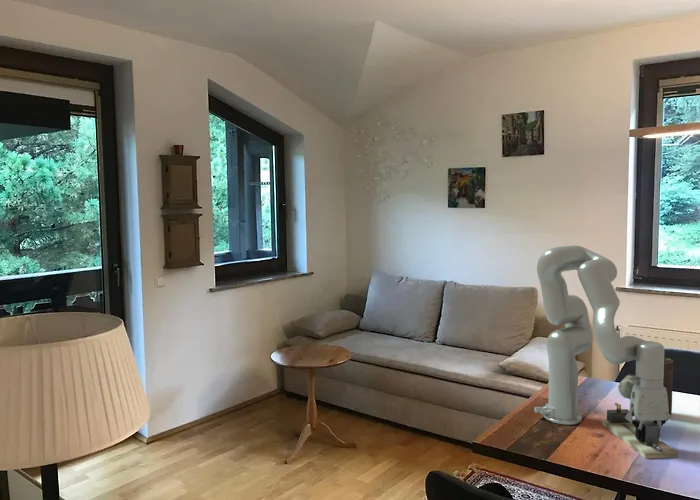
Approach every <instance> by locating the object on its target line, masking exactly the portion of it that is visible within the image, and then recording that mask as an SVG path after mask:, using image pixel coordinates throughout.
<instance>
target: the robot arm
mask: <svg viewBox="0 0 700 500" xmlns="http://www.w3.org/2000/svg"><path fill="white" fill-rule="evenodd" d="M575 270H576V271H577V277H578V279H579V282H580V284H581V286H582V289H583V291H584V294H585V295H586V297H587V300H588V302H589V304H590V306H591V309H592V312H593V315H592V328H591V323H590V315H589V312H588V308H587V305H586V303H585V302H584V300H583V299H582V298H581V297H579V296H578V295H574V294H572V295H571V294H569V291H568V285H567V282H566V279H565V278H564V276H563V275H562V273H563V272H569V271H575ZM536 272H537V277H538V282H539V285H540V289H541V295H542V302H543V307H544V314H545V317H546V320H547V321H548V323H550V324H552V325H554V326H562V325H564V327H563V328H559V329H556V330H554V331H552V332H551V333H550V334H549V335H548V337H547V339H546V350H547V351H546V352H547V356H548V357H547V358H548V401H547V402H546V403H545V405H542V406H534V413H535V414H536V413H540V414H541V415H543V418H544V419H545V420H546V421H548V422H551V423H554V424H557V425H558V424H559V425H567V426H569V425H570V426H571V425H578V424H580V423H582V420H583V416H582V415H581V414H580V412H578V403H579V402H578V400H579V399H578V397H579V396H578V395H579V390H578V389H579V388H578V387H579V367H578V366H579V365H578V362H577V360H576V356H575V355H577V354H581V353H584V352H586V351H587V350H589V349H590V347H591V346H592V343H593V336H594V339H595V342H596V344H597V346H598V348H599V350H600V352H601V355H602V356H603V357H604V359H606V361H607V362H608V363H610V364H613V365H621V364H624V363H628V362H631V361H635V375H634V376H635V379H632V383H635V385H634V386H633V389H632V393H631V398H629V399H630V401H629V409H628V410H629V412H628V413H627V415H626V416H625V419H626V420H628V421H629V422H631V423H632V424H633V425H634V426H635V427H636V430H635V437H636V439H637V440H639V441H640V442H644V430H643V429H642V428H643V423H644V421H653V422H654V423H656V424H657V425H659V438H660V437H661V436H660V433H661V429H663V426H664V425H665V424H666V423H667V422H668V421H669V420H671V419H672V415H670V414H669V409H668V397H667V391H666V388H665V387H663V376H664V358H665V347H664V345H663V344H662V343H660V342H658V341H652V340H645V339H642V338H639V337H637V336H633V335H625V336H621V337H619V334H618V332H617V329H616V326H615V316H616V312H617V311H618V309H619V307H620V304H621V301H620V299H619V296H618V295H617V292H616V291H615V288H614V286H613V284H612V282H613V281H615V279H616V278H617V275H618V269H617V266H616V264H615V262H613V261H612V260H611V259H610V258H607V257H605V256H604V255H601V254H598V253H597V252H594V251H593V250H590V249H588V248H586V247H584V246H580V245H567V246H566V245H565V246H564V245H563V246H558V247H557V246H556V247H553V248H550V249H548V250H545V251H544V252H543V253H542V254H541V255H540V256H539V258H538V260H537V264H536ZM592 331H593V333H592ZM633 417H634V418H633ZM658 442H659V440H658Z"/></svg>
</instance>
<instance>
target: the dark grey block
mask: <svg viewBox="0 0 700 500" xmlns="http://www.w3.org/2000/svg"><path fill="white" fill-rule="evenodd" d="M642 429H643V430H644V442H642V443H643V444H644V445H652V446H653V447H655V448H656V449H657V450H659V451H662V448H660V447H659V446H658V440H659V439H660V437H659V425H657V424H656V423H654V422H653V421H644V423H643V428H642Z"/></svg>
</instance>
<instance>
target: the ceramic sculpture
mask: <svg viewBox="0 0 700 500" xmlns="http://www.w3.org/2000/svg"><path fill="white" fill-rule="evenodd" d="M635 376H636V375H635V373H633V372H632V373H629V374H628V375H626V376H624V378H623V379H622V380H621V381H619V382H618V384H619V385H618V386H617V387H618V389H617V390H618V392H619V393H620V395H621V396H623V397H625V398H627V399H631V393H632V389H633V386H634V385H635V383H632V379H635Z"/></svg>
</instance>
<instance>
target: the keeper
mask: <svg viewBox="0 0 700 500" xmlns="http://www.w3.org/2000/svg"><path fill="white" fill-rule="evenodd" d="M614 405H615V408H616V409H606V419H607V421H609V422H610V423H631V422H629V421H628V420H626V419H625V416H626V415H627V413H628V412H629V410H630V409H627V408H625V409H622V404H619V403H618V402H615V403H614Z"/></svg>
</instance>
